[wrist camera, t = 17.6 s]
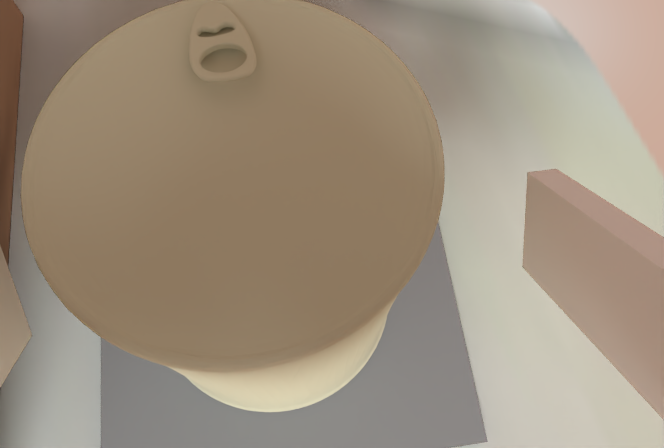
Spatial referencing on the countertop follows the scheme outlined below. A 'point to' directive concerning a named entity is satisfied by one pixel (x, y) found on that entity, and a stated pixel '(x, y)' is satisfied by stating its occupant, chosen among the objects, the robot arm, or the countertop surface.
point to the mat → (332, 412)
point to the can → (236, 194)
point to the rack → (8, 109)
